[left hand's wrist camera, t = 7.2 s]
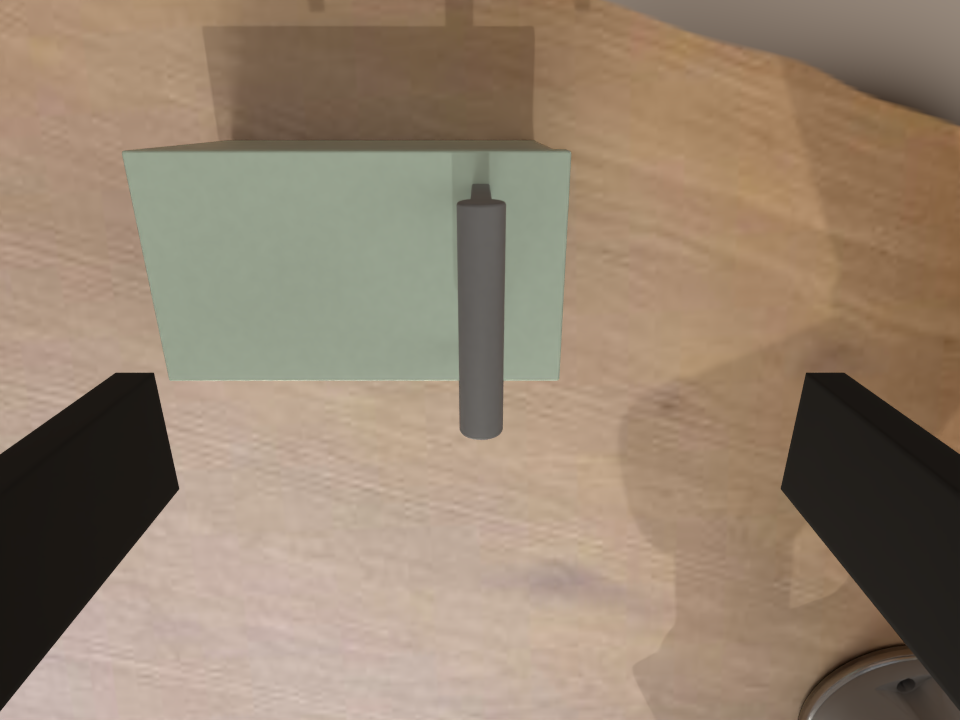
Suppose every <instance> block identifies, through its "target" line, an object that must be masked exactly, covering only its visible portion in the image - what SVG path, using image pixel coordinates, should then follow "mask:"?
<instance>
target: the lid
mask: <svg viewBox="0 0 960 720" xmlns="http://www.w3.org/2000/svg"><path fill="white" fill-rule="evenodd" d="M122 156H123V160H124V165H125V170H126V175H127V180H128V184H129V189H130V194H131V199H132V203H133V208H134V213H135V218H136V223H137V227H138V232H139V237H140V242H141V246H142V251H143V256H144V261H145V266H146V270H147V275H148V280H149V285H150V289H151V294H152V299H153V304H154V309H155V313H156V318H157V323H158V328H159V332H160V337H161V342H162V347H163V352H164V356H165V361H166V366H167V371H168V375H169V380H170V381H459V412H460V431H461V433H462V434H463V435H464V436H466V437H468V438H471V439H476V440H486V439H491V438H494V437H497V436H498V435H499V434H500V433H501V432H502V429H503V381H557V380H559V373H560V354H561V336H562V317H563V298H564V279H565V261H566V242H567V223H568V204H569V186H570V167H571V151H569V150H566V149H137V150H127V151H122Z"/></svg>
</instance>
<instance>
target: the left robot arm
mask: <svg viewBox="0 0 960 720" xmlns="http://www.w3.org/2000/svg"><path fill="white" fill-rule="evenodd" d="M178 490H179V485H178V481H177V476H176V472H175V467H174V463H173V458H172V453H171V449H170V444H169V440H168V435H167V431H166V426H165V421H164V417H163V412H162V408H161V403H160V399H159V394H158V389H157V385H156V380H155V376H154V373H115V374H113V375H112V376H111V377H109V378H108V379H106V380H105V381H103V382H102V383H101V384H99V385H98V386H96V387H95V388H94V389H92V390H91V391H89V392H88V393H86V394H85V395H84V396H82V397H81V398H79V399H78V400H77V401H75V402H74V403H72V404H71V405H69V406H68V407H67V408H65V409H64V410H62V411H61V412H60V413H58V414H57V415H55V416H54V417H52V418H51V419H50V420H48V421H47V422H45V423H44V424H43V425H41V426H40V427H38V428H37V429H35V430H34V431H33V432H31V433H30V434H28V435H27V436H26V437H24V438H23V439H21V440H20V441H18V442H17V443H16V444H14V445H13V446H11V447H10V448H9V449H7V450H6V451H4V452H3V453H2V454H0V711H1V710H2V708H3V707H4V706H5V705H6V703H7V702H8V701H9V700H10V699H11V697H12V696H13V695H14V694H15V692H16V691H17V690H18V689H19V687H20V686H21V685H22V684H23V682H24V681H25V680H26V679H27V677H28V676H29V675H30V674H31V672H32V671H33V670H34V669H35V667H36V666H37V665H38V664H39V662H40V661H41V660H42V659H43V658H44V656H45V655H46V654H47V653H48V651H49V650H50V649H51V648H52V646H53V645H54V644H55V643H56V641H57V640H58V639H59V638H60V636H61V635H62V634H63V633H64V631H65V630H66V629H67V628H68V626H69V625H70V624H71V623H72V622H73V620H74V619H75V618H76V617H77V615H78V614H79V613H80V612H81V610H82V609H83V608H84V607H85V605H86V604H87V603H88V602H89V600H90V599H91V598H92V597H93V595H94V594H95V593H96V592H97V590H98V589H99V588H100V587H101V586H102V584H103V583H104V582H105V581H106V579H107V578H108V577H109V576H110V574H111V573H112V572H113V571H114V569H115V568H116V567H117V566H118V564H119V563H120V562H121V561H122V559H123V558H124V557H125V556H126V554H127V553H128V552H129V551H130V550H131V548H132V547H133V546H134V545H135V543H136V542H137V541H138V540H139V538H140V537H141V536H142V535H143V533H144V532H145V531H146V530H147V528H148V527H149V526H150V525H151V523H152V522H153V521H154V520H155V518H156V517H157V516H158V515H159V514H160V512H161V511H162V510H163V509H164V507H165V506H166V505H167V504H168V502H169V501H170V500H171V499H172V497H173V496H174V495H175V494H176V492H177V491H178ZM781 490H782V491H783V492H784V494H785V495H786V496H787V497H788V499H789V500H790V501H791V502H792V504H793V505H794V506H795V507H796V509H797V510H798V511H799V512H800V514H801V515H802V516H803V517H804V518H805V520H806V521H807V522H808V523H809V525H810V526H811V527H812V528H813V530H814V531H815V532H816V533H817V535H818V536H819V537H820V538H821V540H822V541H823V542H824V543H825V545H826V546H827V547H828V548H829V550H830V551H831V552H832V553H833V554H834V556H835V557H836V558H837V559H838V561H839V562H840V563H841V564H842V566H843V567H844V568H845V569H846V571H847V572H848V573H849V574H850V576H851V577H852V578H853V579H854V581H855V582H856V583H857V584H858V586H859V587H860V588H861V589H862V590H863V592H864V593H865V594H866V595H867V597H868V598H869V599H870V600H871V602H872V603H873V604H874V605H875V607H876V608H877V609H878V610H879V612H880V613H881V614H882V615H883V617H884V618H885V619H886V620H887V622H888V623H889V624H890V625H891V626H892V628H893V629H894V630H895V631H896V633H897V634H898V635H899V636H900V638H901V639H902V640H903V641H904V643H905V644H906V645H905V646H897V647H891V648H886V649H882V650H878V651H874V652H871V653H869V654H866V655H863V656H861V657H858V658H856V659H854V660H852V661H850V662H848V663H846V664H844V665H842V666H841V667H839V668H838V669H836V670H835V671H833V672H832V673H830V674H829V675H828V676H827V677H825V678H824V679H823V680H822V681H821V682H820V683H819V684H818V685H817V686H816V687H815V688H814V689H813V690H812V692H811V693H810V694H809V696H808V697H807V699H806V700H805V702H804V704H803V706H802V708H801V711H800V714H799V718H798V720H960V454H958V453H957V452H956V451H954V450H953V449H951V448H950V447H949V446H947V445H946V444H944V443H943V442H942V441H940V440H939V439H937V438H936V437H934V436H933V435H932V434H930V433H929V432H927V431H926V430H925V429H923V428H922V427H920V426H919V425H917V424H916V423H915V422H913V421H912V420H910V419H909V418H908V417H906V416H905V415H903V414H902V413H900V412H899V411H898V410H896V409H895V408H893V407H892V406H891V405H889V404H888V403H886V402H885V401H883V400H882V399H881V398H879V397H878V396H876V395H875V394H874V393H872V392H871V391H869V390H868V389H866V388H865V387H864V386H862V385H861V384H859V383H858V382H857V381H855V380H854V379H852V378H851V377H849V376H848V375H847V374H845V373H806V376H805V380H804V385H803V389H802V394H801V399H800V403H799V408H798V412H797V417H796V421H795V426H794V431H793V435H792V440H791V444H790V449H789V453H788V458H787V463H786V467H785V472H784V476H783V481H782V485H781Z"/></svg>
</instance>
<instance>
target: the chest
mask: <svg viewBox="0 0 960 720" xmlns="http://www.w3.org/2000/svg"><path fill="white" fill-rule="evenodd" d="M147 149H551V148H549V147H547V146H545V145H542V144H540V143H538V142H536V141H534V140H227V141H218V142H208V143H197V144H187V145H177V146H167V147H157V148H147Z"/></svg>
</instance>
